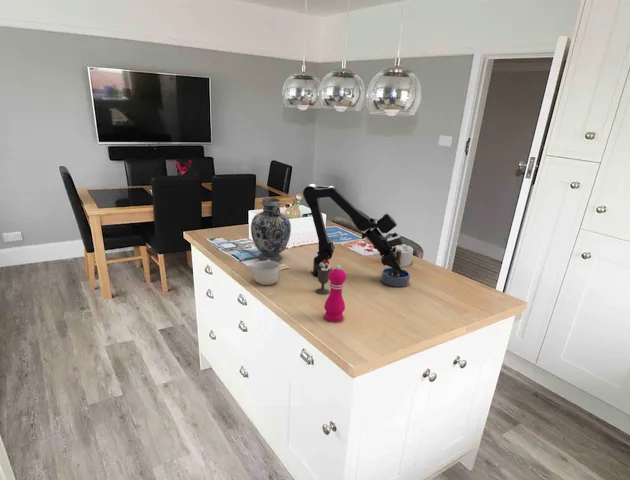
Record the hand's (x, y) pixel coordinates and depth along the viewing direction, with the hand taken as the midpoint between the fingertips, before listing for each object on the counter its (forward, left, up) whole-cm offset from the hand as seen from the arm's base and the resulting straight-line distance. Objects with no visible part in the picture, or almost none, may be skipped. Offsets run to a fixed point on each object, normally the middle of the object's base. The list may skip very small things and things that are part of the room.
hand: (400, 267), depth 181 cm
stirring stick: (-1, +1, -7) cm, 7 cm away
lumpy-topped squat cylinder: (+14, +25, -7) cm, 29 cm away
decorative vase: (-49, +39, -7) cm, 63 cm away
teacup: (-56, +10, -7) cm, 58 cm away
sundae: (-36, -4, -7) cm, 37 cm away
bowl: (-1, +1, -7) cm, 7 cm away
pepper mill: (-39, -27, -7) cm, 48 cm away
